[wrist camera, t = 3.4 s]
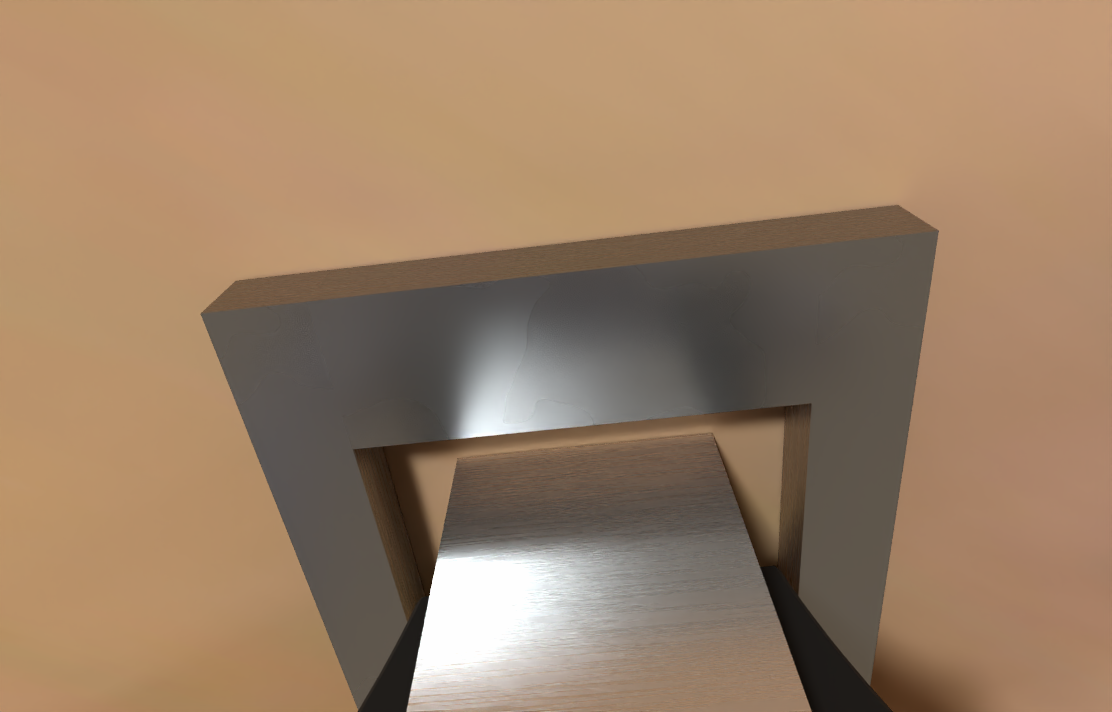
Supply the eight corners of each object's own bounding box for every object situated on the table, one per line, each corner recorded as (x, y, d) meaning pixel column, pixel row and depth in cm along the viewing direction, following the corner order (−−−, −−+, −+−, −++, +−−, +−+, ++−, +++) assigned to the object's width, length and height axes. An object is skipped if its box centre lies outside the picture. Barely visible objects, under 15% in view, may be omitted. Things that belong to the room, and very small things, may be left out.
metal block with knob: (496, 632, 14) (461, 1040, 9) (457, 458, 12) (379, 851, 7) (714, 614, 14) (819, 1020, 9) (711, 432, 12) (849, 818, 6)
